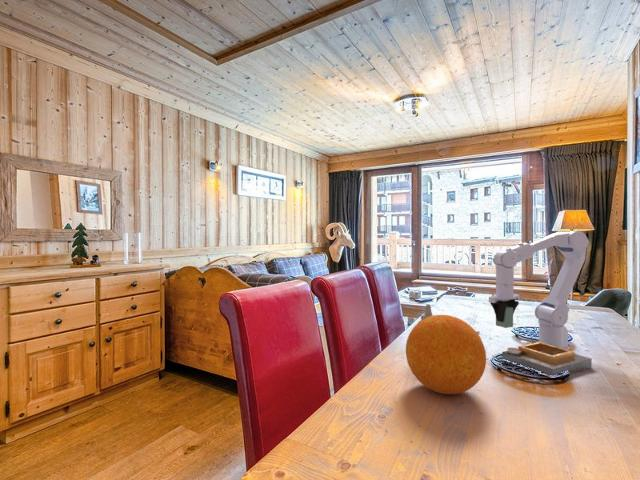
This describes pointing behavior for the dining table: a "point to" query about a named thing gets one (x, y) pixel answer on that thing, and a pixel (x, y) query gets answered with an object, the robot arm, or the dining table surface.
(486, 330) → the dining table surface
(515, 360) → the grey framed base plate
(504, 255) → the robot arm
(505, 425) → the dining table surface
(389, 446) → the dining table surface
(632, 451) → the dining table surface
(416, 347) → the decorative sphere
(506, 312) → the spout tin
